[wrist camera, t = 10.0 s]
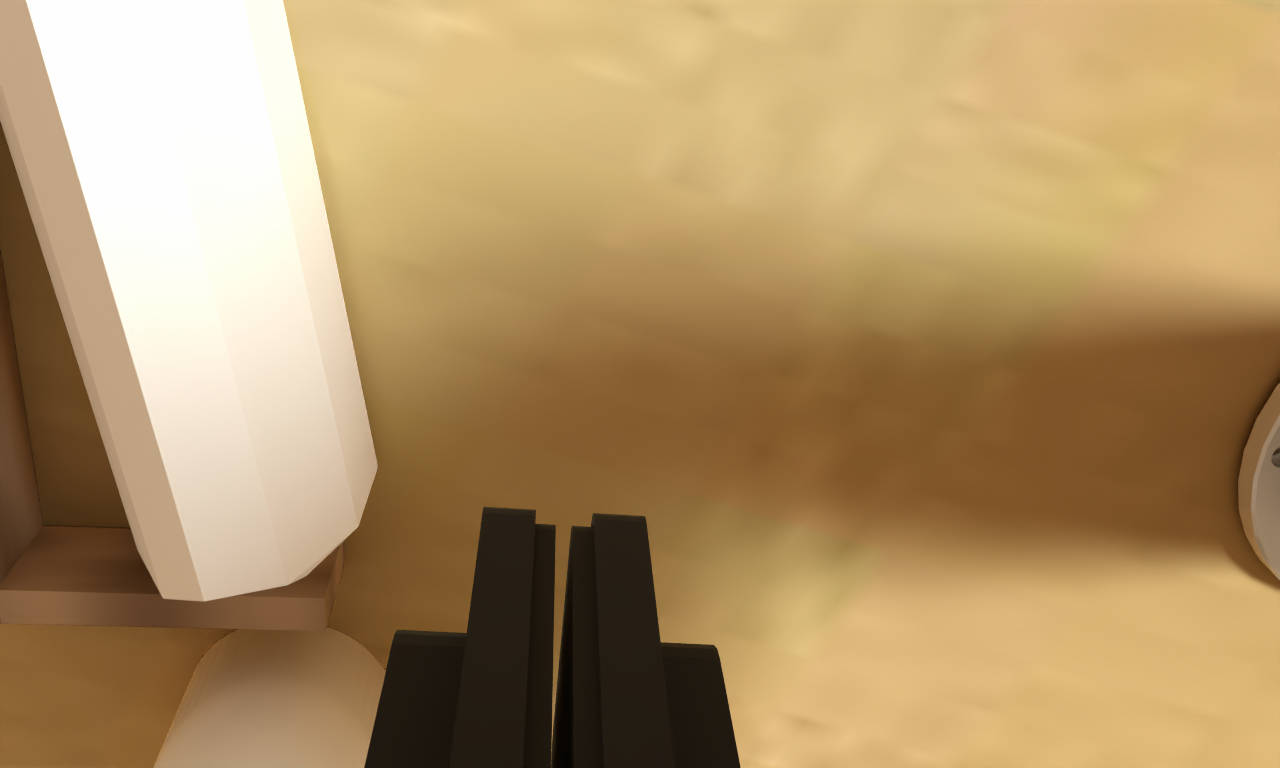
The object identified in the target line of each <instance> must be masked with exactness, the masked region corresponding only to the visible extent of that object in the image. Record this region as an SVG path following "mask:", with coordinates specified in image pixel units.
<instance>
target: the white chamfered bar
mask: <svg viewBox="0 0 1280 768" xmlns="http://www.w3.org/2000/svg"><path fill="white" fill-rule="evenodd" d="M0 122H1V125H2V128H3V131H4V134H5V137H6V140H7V144H8V147H9V150H10V153H11V156H12V159H13V162H14V165H15V169H16V172H17V175H18V178H19V181H20V184H21V187H22V190H23V194H24V197H25V200H26V203H27V206H28V209H29V212H30V215H31V219H32V222H33V225H34V228H35V231H36V234H37V237H38V240H39V244H40V247H41V250H42V253H43V256H44V259H45V262H46V265H47V269H48V272H49V275H50V278H51V281H52V284H53V287H54V290H55V294H56V297H57V300H58V303H59V306H60V309H61V312H62V315H63V319H64V322H65V325H66V328H67V331H68V334H69V337H70V340H71V344H72V347H73V350H74V353H75V356H76V359H77V362H78V365H79V369H80V372H81V375H82V378H83V381H84V384H85V387H86V390H87V394H88V397H89V400H90V403H91V406H92V409H93V412H94V415H95V419H96V422H97V425H98V428H99V431H100V434H101V437H102V441H103V444H104V447H105V450H106V453H107V456H108V459H109V462H110V466H111V469H112V472H113V475H114V478H115V481H116V484H117V487H118V491H119V494H120V497H121V500H122V503H123V506H124V509H125V512H126V516H127V519H128V522H129V525H130V528H131V531H132V534H133V537H134V541H135V544H136V547H137V550H138V552H139V554H140V556H141V558H142V560H143V562H144V563H145V565H146V567H147V569H148V571H149V573H150V575H151V577H152V579H153V580H154V582H155V584H156V586H157V588H158V590H159V592H160V594H161V596H162V598H163V599H170V600H187V601H204V602H205V601H210V600H215V599H220V598H225V597H231V596H236V595H241V594H246V593H251V592H257V591H262V590H267V589H272V588H277V587H283V586H287V585H289V584H291V583H293V582H295V581H297V580H299V579H301V578H303V577H305V576H307V575H308V574H309V573H310V572H311V571H312V570H313V569H314V568H315V567H316V566H317V565H318V564H320V563H321V562H322V561H323V560H324V559H325V558H326V557H327V556H328V555H329V554H330V553H331V552H332V551H333V550H334V549H335V548H336V547H338V546H339V545H340V544H341V543H342V542H343V541H344V540H345V539H346V538H347V537H348V536H349V535H350V534H351V533H352V532H353V531H354V530H355V529H357V528H358V526H359V523H360V520H361V517H362V514H363V511H364V508H365V505H366V502H367V499H368V496H369V493H370V490H371V487H372V484H373V481H374V478H375V475H376V472H377V469H378V464H377V460H376V455H375V450H374V445H373V440H372V435H371V430H370V425H369V420H368V415H367V411H366V406H365V401H364V396H363V391H362V386H361V381H360V376H359V371H358V366H357V362H356V357H355V352H354V347H353V342H352V337H351V332H350V327H349V322H348V317H347V312H346V308H345V303H344V298H343V293H342V288H341V283H340V278H339V273H338V268H337V263H336V259H335V254H334V249H333V244H332V239H331V234H330V229H329V224H328V219H327V214H326V210H325V205H324V200H323V195H322V190H321V185H320V180H319V175H318V170H317V165H316V161H315V156H314V151H313V146H312V141H311V136H310V131H309V126H308V121H307V116H306V111H305V107H304V102H303V97H302V92H301V87H300V82H299V77H298V72H297V67H296V62H295V58H294V53H293V48H292V43H291V38H290V33H289V28H288V23H287V18H286V13H285V9H284V4H283V0H0Z"/></svg>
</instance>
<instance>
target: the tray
mask: <svg viewBox="0 0 1280 768" xmlns="http://www.w3.org/2000/svg"><path fill="white" fill-rule="evenodd" d="M343 568H344V547H343V542H342V543H341V544H340V545H339V546H338V547H336V548H335V549H334V550H333V551H332V552H331V553H330V554H329V555H328V556H327V557H326V558H325V559H324V560H323V561H322V562H321V563H320V564H318V565H317V566H316V567H315V568H314V569H313V570H312V571H311V572H310V573H309V574H308V575H307V576H305V577H303V578H301V579H299V580H297V581H295V582H293V583H291V584H289V585H287V586H283V587H277V588H272V589H267V590H262V591H257V592H251V593H246V594H241V595H236V596H231V597H225V598H220V599H215V600H210V601H205V602H204V601H187V600H170V599H163V598H162V596H161V594H160V592H159V590H158V588H157V586H156V584H155V582H154V580H153V579H152V577H151V575H150V573H149V571H148V569H147V567H146V565H145V563H144V562H143V560H142V558H141V556H140V554H139V552H138V550H137V547H136V544H135V541H134V537H133V534H132V531H131V529H129V528H98V527H66V526H43V522H42V515H41V509H40V502H39V496H38V490H37V483H36V477H35V470H34V464H33V458H32V451H31V445H30V438H29V432H28V425H27V419H26V413H25V406H24V400H23V393H22V387H21V381H20V374H19V368H18V361H17V355H16V348H15V342H14V336H13V329H12V323H11V316H10V310H9V304H8V297H7V291H6V284H5V278H4V271H3V265H2V259H1V252H0V624H42V625H85V626H128V627H171V628H214V629H257V630H300V631H326V628H327V625H328V621H329V617H330V614H331V610H332V607H333V603H334V600H335V596H336V593H337V589H338V585H339V582H340V578H341V575H342V571H343Z"/></svg>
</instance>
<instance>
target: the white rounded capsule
mask: <svg viewBox="0 0 1280 768" xmlns="http://www.w3.org/2000/svg"><path fill="white" fill-rule="evenodd" d="M385 673H386V672H385V671H384V669H383V667H382V666H381V664H380V663H379V662H378V660H377V659H376V658H375V657H374V656H373V655H372V654H371V653H370V652H369V651H368V650H367V649H366V648H365V647H364V646H362V645H361V644H360V643H358V642H357V641H355V640H354V639H352V638H351V637H349V636H347V635H345V634H343V633H341V632H339V631H336V630H334V629H332V628H329V627H327V628H326V631H300V630H257V629H238V630H236V631H234V632H232V633H230V634H228V635H226V636H225V637H223V638H222V639H221V640H219V641H218V642H216V643H215V644H214V645H213V646H212V647H211V648H210V649H209V650H208V651H207V652H206V653H205V654H204V656H203V657H202V658H201V660H200V661H199V663H198V665H197V667H196V669H195V671H194V673H193V675H192V678H191V680H190V683H189V685H188V687H187V690H186V692H185V694H184V697H183V699H182V701H181V704H180V706H179V708H178V711H177V713H176V715H175V718H174V720H173V722H172V725H171V727H170V729H169V732H168V734H167V736H166V739H165V741H164V743H163V746H162V748H161V750H160V753H159V755H158V757H157V760H156V762H155V764H154V767H153V768H364V766H365V762H366V757H367V753H368V748H369V744H370V740H371V735H372V731H373V726H374V722H375V717H376V713H377V708H378V704H379V700H380V695H381V691H382V686H383V682H384V677H385Z"/></svg>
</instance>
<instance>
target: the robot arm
mask: <svg viewBox="0 0 1280 768" xmlns="http://www.w3.org/2000/svg"><path fill="white" fill-rule="evenodd" d="M1238 499H1239V513H1240V516H1241V520H1242V524H1243V528H1244V531H1245V535H1246V537H1247V539H1248V541H1249V542H1250V544H1251V546H1252V548H1253V549H1254V551H1255V553H1256V555H1257V556H1258V558H1259V559H1260V560H1261V561H1262V562H1263V563H1264V564H1265V565H1266V566H1267V568H1268V569H1269V570H1270V571H1271V572H1272V573H1273V574H1274V575H1275V576H1276V577H1277V578H1278V579H1279V580H1280V383H1279V384H1278V385H1277V386H1276V388H1275V389H1274V391H1273V393H1272V394H1271V396H1270V398H1269V399H1268V401H1267V403H1266V404H1265V406H1264V407H1263V409H1262V411H1261V412H1260V414H1259V416H1258V417H1257V419H1256V422H1255V424H1254V427H1253V429H1252V432H1251V434H1250V437H1249V439H1248V442H1247V444H1246V447H1245V449H1244V453H1243V458H1242V463H1241V469H1240V474H1239V479H1238ZM535 516H536V510H527V509H510V508H492V507H484V508H483V514H482V522H481V530H480V537H479V545H478V552H477V560H476V568H475V575H474V583H473V591H472V598H471V606H470V613H469V621H468V629H467V633H451V632H430V631H409V630H397V631H396V633H395V635H394V639H393V642H392V646H391V651H390V655H389V660H388V664H387V668H386V673H385V677H384V682H383V686H382V691H381V695H380V700H379V704H378V708H377V713H376V717H375V722H374V726H373V731H372V735H371V740H370V744H369V748H368V753H367V757H366V762H365V766H364V768H740V763H739V757H738V752H737V747H736V741H735V736H734V731H733V726H732V720H731V715H730V710H729V705H728V699H727V694H726V689H725V683H724V678H723V673H722V668H721V662H720V658H719V654H718V650H717V648H716V647H715V646H714V645H702V644H681V643H660V634H659V626H658V617H657V609H656V600H655V591H654V583H653V574H652V566H651V557H650V549H649V540H648V532H647V523H646V518H645V517H644V516H630V515H613V514H596V513H593V516H592V522H591V527H581V526H572V529H571V538H570V548H569V559H568V571H567V582H566V593H565V604H564V615H563V626H562V637H561V648H560V659H559V671H558V682H557V693H556V704H555V715H554V726H553V740H552V759H551V739H552V687H553V635H554V583H555V532H556V526H555V525H546V524H535Z"/></svg>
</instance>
